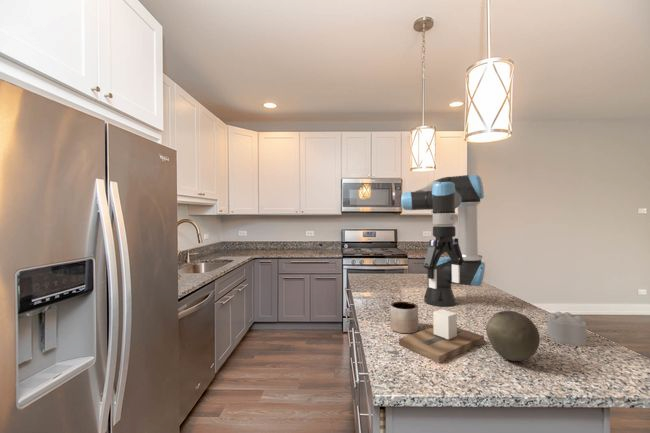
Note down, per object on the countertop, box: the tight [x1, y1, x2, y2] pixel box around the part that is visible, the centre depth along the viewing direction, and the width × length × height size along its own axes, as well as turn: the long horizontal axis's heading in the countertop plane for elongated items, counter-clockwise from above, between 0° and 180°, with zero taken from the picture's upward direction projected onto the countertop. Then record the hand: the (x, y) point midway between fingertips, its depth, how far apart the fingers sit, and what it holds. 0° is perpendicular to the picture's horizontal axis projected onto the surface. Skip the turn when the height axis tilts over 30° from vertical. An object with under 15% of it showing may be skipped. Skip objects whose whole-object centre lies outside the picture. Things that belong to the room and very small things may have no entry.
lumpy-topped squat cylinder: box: [546, 311, 588, 347], centre depth 109 cm, size 10×13×9 cm
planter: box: [389, 301, 419, 335], centre depth 120 cm, size 11×11×10 cm
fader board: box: [398, 326, 485, 364], centre depth 105 cm, size 26×16×2 cm, turn 124°
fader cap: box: [432, 309, 458, 340], centre depth 107 cm, size 5×6×8 cm
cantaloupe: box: [486, 310, 541, 362], centre depth 93 cm, size 14×14×15 cm
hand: (444, 285), depth 107 cm, fingers open, 13 cm apart
